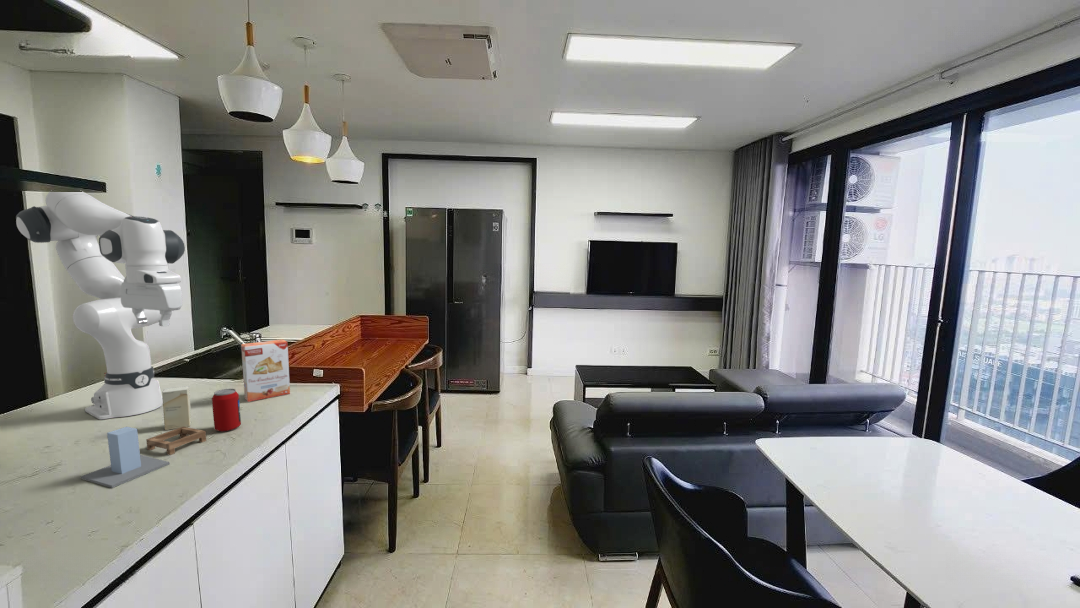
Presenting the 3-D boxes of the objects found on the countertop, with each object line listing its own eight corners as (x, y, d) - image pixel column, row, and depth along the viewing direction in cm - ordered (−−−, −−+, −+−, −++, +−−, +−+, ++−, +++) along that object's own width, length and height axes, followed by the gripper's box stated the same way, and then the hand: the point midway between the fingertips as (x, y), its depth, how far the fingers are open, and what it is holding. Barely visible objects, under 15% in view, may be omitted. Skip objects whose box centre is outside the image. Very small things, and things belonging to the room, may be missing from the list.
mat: (80, 478, 105) (80, 476, 105) (139, 456, 117) (139, 454, 117) (111, 487, 101) (111, 485, 101) (169, 464, 113) (169, 461, 113)
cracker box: (248, 402, 157) (243, 346, 155) (244, 398, 162) (240, 343, 159) (291, 394, 167) (287, 340, 164) (286, 390, 171) (283, 338, 169)
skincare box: (164, 430, 133) (160, 392, 131) (167, 425, 137) (163, 388, 135) (190, 426, 136) (187, 389, 135) (192, 421, 140) (189, 385, 138)
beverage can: (246, 424, 138) (243, 388, 137) (229, 433, 131) (226, 395, 130) (226, 423, 139) (223, 387, 137) (208, 432, 132) (205, 394, 130)
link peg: (111, 471, 108) (107, 432, 107) (131, 463, 112) (126, 426, 110) (121, 473, 107) (117, 435, 105) (141, 466, 110) (137, 428, 109)
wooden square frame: (147, 449, 121) (146, 439, 120) (184, 436, 129) (183, 426, 129) (170, 455, 118) (169, 444, 117) (206, 440, 126) (205, 431, 126)
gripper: (110, 275, 121) (115, 324, 123) (159, 277, 114) (164, 329, 116) (137, 274, 127) (142, 320, 129) (185, 276, 120) (189, 325, 122)
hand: (153, 324), depth 122 cm, fingers open, 8 cm apart
